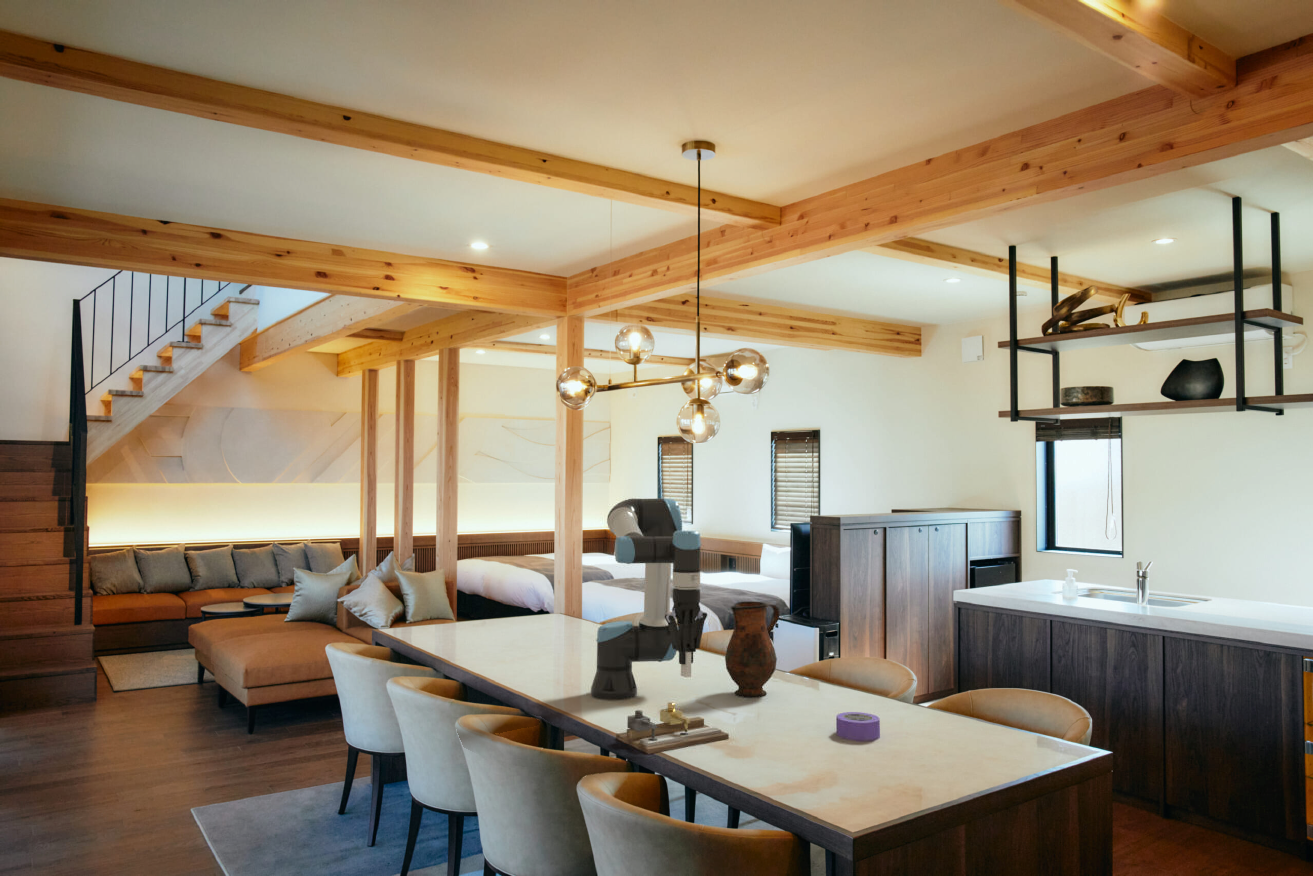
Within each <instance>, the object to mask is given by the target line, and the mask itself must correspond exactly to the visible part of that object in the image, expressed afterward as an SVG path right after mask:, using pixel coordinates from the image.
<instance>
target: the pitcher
mask: <svg viewBox="0 0 1313 876" xmlns="http://www.w3.org/2000/svg"><path fill="white" fill-rule="evenodd" d="M768 607H770V608H772V610H773V613H774V614H773V618H772V620H771V622H770V624H769V625H768V626H767V620H766V619H767V608H768ZM730 609H731V610H732V611H731V612H732V614H733V618H734V628H733V631H732V633H731V637H730V639H729V642H728V645H727V647H726V650H725V651H726V653H725V655H724V659H725V660H724V661H725V669H726V670H727V672H728V675H729V676H730V678H731V680H732V681H733V682H734V684H735V685H737V687H738V688H737V690H735V691H734V695H735V696H736V697H739V698H740V697H741V698H748V699H749V698H754V699H755V698H762V697H765V696H766V695H767V694H768V693H767V691H766V690H764V688H763V686H765V684H767V682H768V681H770V679H771V677H772V676H773V674H774V673H775V671H776V669H777V661H778V658H777V655H776V654H777V653H776V650H775V647H774V644H773V642H772V640H771V638H770V634H771V632H772V630H773V628H775V625H777V623H778V622H779V619H780V610H779V608H778V606H776V605H774V604H769V603H766V602H761V601H737V602H735V603H734V605H732V606H731V607H730Z"/></svg>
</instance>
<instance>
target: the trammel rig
mask: <svg viewBox="0 0 1313 876" xmlns="http://www.w3.org/2000/svg"><path fill="white" fill-rule="evenodd" d="M643 714H644V713H643V710H640V709H637V710H635V711H634V714H633V715H627V723H626V724H627V729H626V731H625V732H620V733H616V734H615V736H616V737H615V739H616V740H618V741H621V742H622V743H624V744H627V745H629V746H630V747H631V746H632V747H634V748H635V749H637V750H640V751H641V752H643V753H646V754H647V755H650V754H655V753H661V752H666V751H671V750H675V749H677V750H678V749H681V748H686V747H691V746H697V745H702V744H707V743H713V742H717V741H722V740H723V741H724V740H728V739H729V733H727V732H724V731H723V730H722V729H720V728H718V727H715V726H709V725H706V724H705V719H704V718H703V717H701V716H696V717H691V718H689V719H690V723H688V730H687V732H685V723H684V722H682V723H679V724H674V725H669V724H666V723H664V722H662V723H661V722H660V723H655V722H652V721H651V718H650V717H648V716H646V715H643Z"/></svg>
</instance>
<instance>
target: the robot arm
mask: <svg viewBox="0 0 1313 876" xmlns="http://www.w3.org/2000/svg"><path fill="white" fill-rule="evenodd" d="M681 512H682V511H681V508H680V505H679V503H678V502H677V500H675V499H671V498H663V497H662V498H628V499H624V500H622V501H620V502H618V503H617V504H615V505H614V506H613V507H612V508H611V509H610V510H609V512H608V515H607V519H606V520H607V521H606V524H607V526H608V529H609V530H610V532H611V533H612V534H613V535H614V536H615V537H616V539H615V540H614V558H615V562H617V563H619V564H627V565H630V564H645V567H644V569H645V570H644V599H643V615H642V617H640V618H639V619H638V625H634V624H633V622H632V621H630V620H625V621H624V620H619V621H612V622H607V623H603V624H602V625H600V626H599V627H598V629H597V634H596V641H595V642H596V672H595V674H594V677H593V681H592V683H591V687H590V695H591V696H592V697H593V698H596V699H600V700H610V701H611V700H612V701H613V700H615V701H616V700H617V701H618V700H626V699H631V698H634V697H637V695H638V687H637V684H636V680H635V677H634V673H633V663H638V662H639V663H640V662H641V663H642V662H649V663H650V662H659V663H661V662H666V661H667V662H669V661H672V660H673V659H674V658H675V656H676V654H677V652H678V663H679V664H680V677H684V678H691V677H692V664H693V663H694V653H696V651H697V650H698V649H699V648H700V647H701V641H702V636H703V630H704V625H705V621H706V619H707V618H708V613H707V612H705V611H702V610H701V606H700V602H701V589H700V588H699V587H700V586H701V546H702V542H701V533H700V532H699V531H697V530H683V519H682V513H681ZM671 579H672V580H671ZM671 581H672V585H671ZM671 586H672V587H674V588H673V589H672V603H673V606H672V609H671ZM670 610H671V612H670Z"/></svg>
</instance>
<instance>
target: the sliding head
mask: <svg viewBox="0 0 1313 876" xmlns="http://www.w3.org/2000/svg"><path fill="white" fill-rule="evenodd" d="M659 721H660V722H662V723H666V724H669V725H674V724H679V723H682V722H684V723H685V732H687V730H688V723H690V719H689V718H688V717H686V716H683V711H681V710H678V709H676V703H675V702H667V708H662V709H660V710H659Z"/></svg>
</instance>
